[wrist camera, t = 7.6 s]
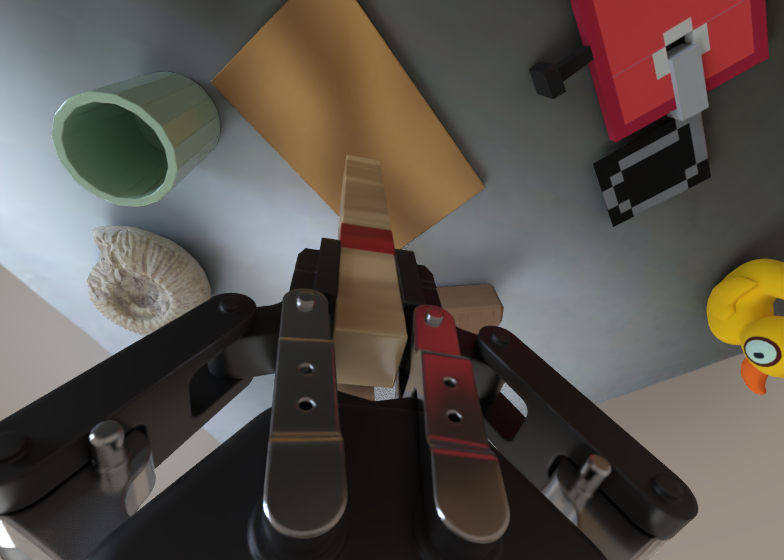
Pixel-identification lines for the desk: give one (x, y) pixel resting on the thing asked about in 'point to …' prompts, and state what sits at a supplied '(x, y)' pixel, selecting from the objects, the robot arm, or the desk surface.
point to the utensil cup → (136, 136)
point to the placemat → (347, 112)
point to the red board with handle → (657, 86)
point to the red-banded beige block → (367, 283)
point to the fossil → (144, 279)
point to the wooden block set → (455, 318)
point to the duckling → (751, 318)
